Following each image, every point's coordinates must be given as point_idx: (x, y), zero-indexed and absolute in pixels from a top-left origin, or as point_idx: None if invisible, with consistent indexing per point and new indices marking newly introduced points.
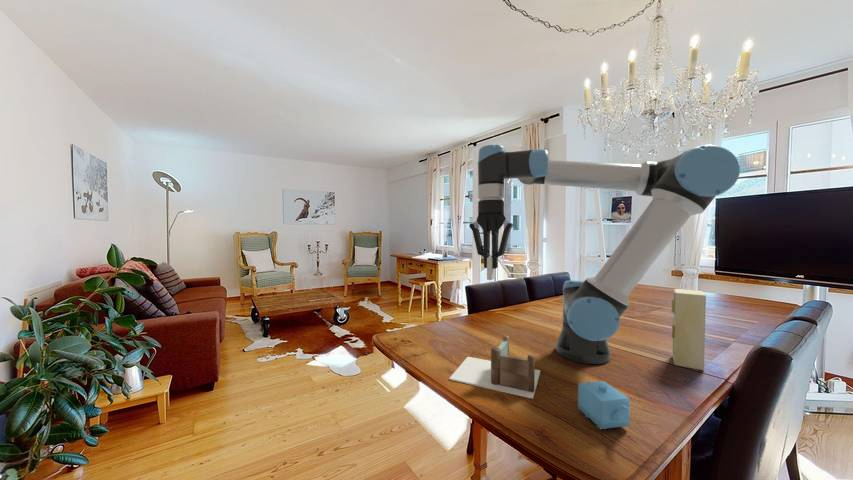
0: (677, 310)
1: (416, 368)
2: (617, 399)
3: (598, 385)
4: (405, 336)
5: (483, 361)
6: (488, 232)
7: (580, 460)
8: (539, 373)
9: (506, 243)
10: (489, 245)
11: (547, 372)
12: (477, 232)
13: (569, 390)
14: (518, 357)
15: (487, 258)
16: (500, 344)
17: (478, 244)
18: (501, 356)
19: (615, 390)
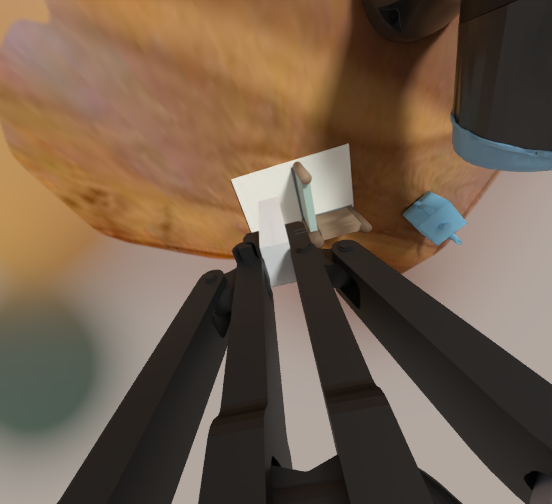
0: None
1: (205, 252)
2: (453, 233)
3: (442, 229)
4: (64, 178)
5: (261, 178)
6: (281, 456)
7: (398, 267)
8: (349, 156)
9: (415, 292)
10: (266, 310)
11: (358, 137)
12: (166, 481)
13: (391, 172)
14: (346, 229)
15: (273, 283)
16: (305, 203)
17: (214, 361)
18: (324, 239)
19: (457, 215)
